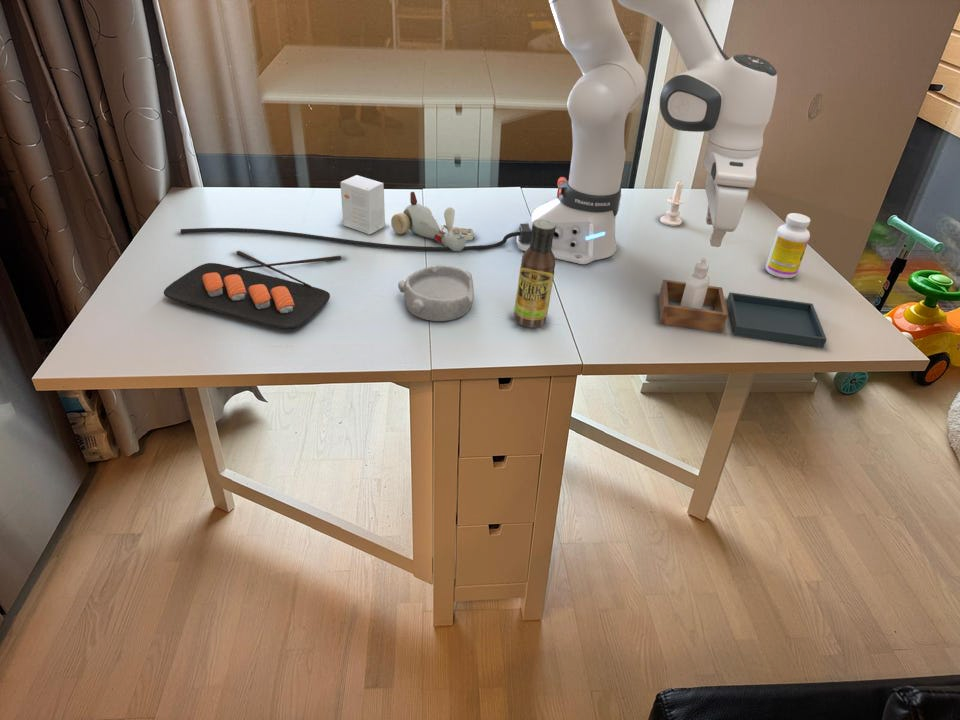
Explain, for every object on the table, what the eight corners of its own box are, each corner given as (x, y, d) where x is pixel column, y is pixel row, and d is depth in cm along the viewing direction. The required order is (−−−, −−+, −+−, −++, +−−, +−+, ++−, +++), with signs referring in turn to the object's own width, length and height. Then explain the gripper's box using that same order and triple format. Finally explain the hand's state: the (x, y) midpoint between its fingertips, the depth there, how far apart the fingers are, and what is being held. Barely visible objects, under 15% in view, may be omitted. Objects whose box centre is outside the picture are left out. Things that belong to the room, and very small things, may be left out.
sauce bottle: (510, 326, 133) (519, 227, 121) (517, 309, 138) (527, 212, 126) (543, 332, 132) (557, 233, 120) (550, 316, 137) (563, 218, 125)
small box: (385, 227, 164) (384, 183, 158) (369, 235, 160) (368, 190, 154) (358, 217, 167) (356, 174, 161) (342, 225, 163) (339, 181, 157)
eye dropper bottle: (707, 318, 139) (723, 263, 132) (682, 321, 138) (696, 265, 131) (696, 306, 143) (710, 252, 136) (671, 309, 141) (684, 254, 134)
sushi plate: (157, 302, 132) (153, 284, 130) (253, 237, 156) (251, 221, 153) (295, 339, 125) (293, 321, 123) (374, 266, 148) (373, 249, 146)
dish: (467, 284, 144) (469, 262, 142) (482, 321, 134) (484, 298, 131) (395, 288, 141) (395, 266, 139) (405, 326, 131) (405, 303, 128)
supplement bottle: (798, 281, 154) (818, 226, 147) (766, 276, 155) (784, 221, 148) (793, 267, 159) (812, 213, 152) (763, 263, 160) (780, 209, 153)
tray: (733, 335, 135) (736, 326, 134) (726, 300, 145) (729, 292, 144) (823, 348, 133) (826, 339, 132) (809, 312, 144) (812, 303, 142)
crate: (660, 323, 137) (664, 305, 134) (658, 296, 145) (662, 279, 143) (722, 332, 135) (727, 314, 133) (717, 304, 144) (722, 287, 141)
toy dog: (459, 257, 154) (461, 218, 149) (381, 239, 159) (380, 201, 153) (480, 235, 163) (482, 198, 158) (405, 218, 168) (405, 182, 163)
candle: (681, 218, 178) (691, 178, 172) (681, 227, 174) (691, 186, 167) (660, 215, 178) (669, 175, 172) (660, 224, 174) (669, 183, 168)
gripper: (707, 138, 131) (691, 209, 139) (717, 177, 114) (698, 256, 122) (743, 142, 130) (724, 213, 138) (758, 182, 114) (736, 260, 122)
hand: (712, 233), depth 130 cm, fingers open, 8 cm apart
